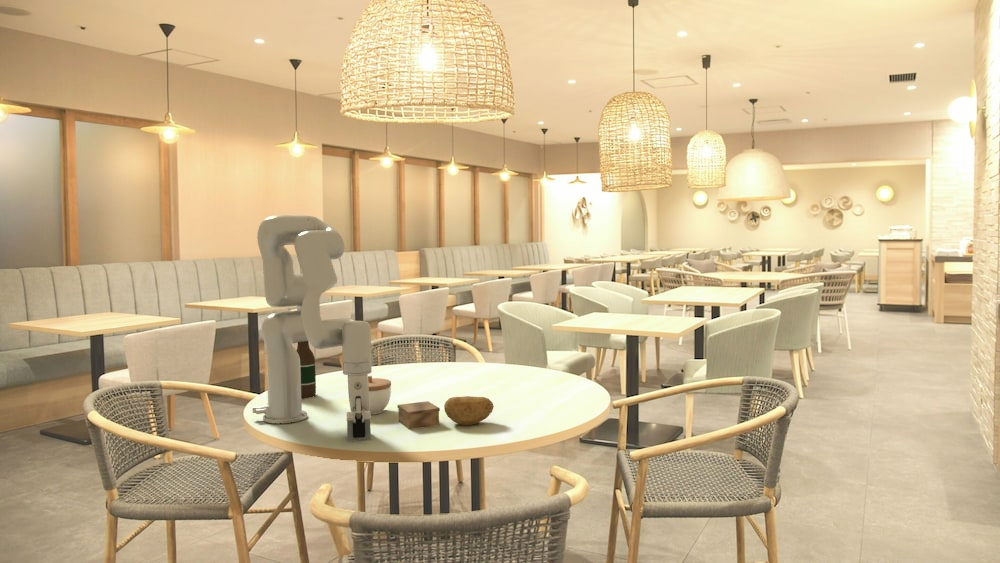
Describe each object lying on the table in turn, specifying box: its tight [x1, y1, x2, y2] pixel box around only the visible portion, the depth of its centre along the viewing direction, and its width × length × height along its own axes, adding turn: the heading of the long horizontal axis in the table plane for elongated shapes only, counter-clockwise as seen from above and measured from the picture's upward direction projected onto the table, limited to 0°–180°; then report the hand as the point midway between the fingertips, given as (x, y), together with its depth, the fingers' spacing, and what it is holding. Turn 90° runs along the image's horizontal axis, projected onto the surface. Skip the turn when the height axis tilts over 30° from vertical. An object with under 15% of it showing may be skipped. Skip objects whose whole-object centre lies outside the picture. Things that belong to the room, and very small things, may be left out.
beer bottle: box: [295, 341, 317, 399], centre depth 245 cm, size 8×8×24 cm
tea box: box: [396, 400, 441, 430], centre depth 210 cm, size 9×9×5 cm
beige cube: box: [346, 411, 372, 442], centre depth 197 cm, size 6×6×6 cm
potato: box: [443, 395, 494, 426], centre depth 209 cm, size 10×14×8 cm
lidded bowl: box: [364, 375, 392, 416], centre depth 224 cm, size 13×13×11 cm
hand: (358, 433), depth 197 cm, fingers closed on beige cube, 6 cm apart
